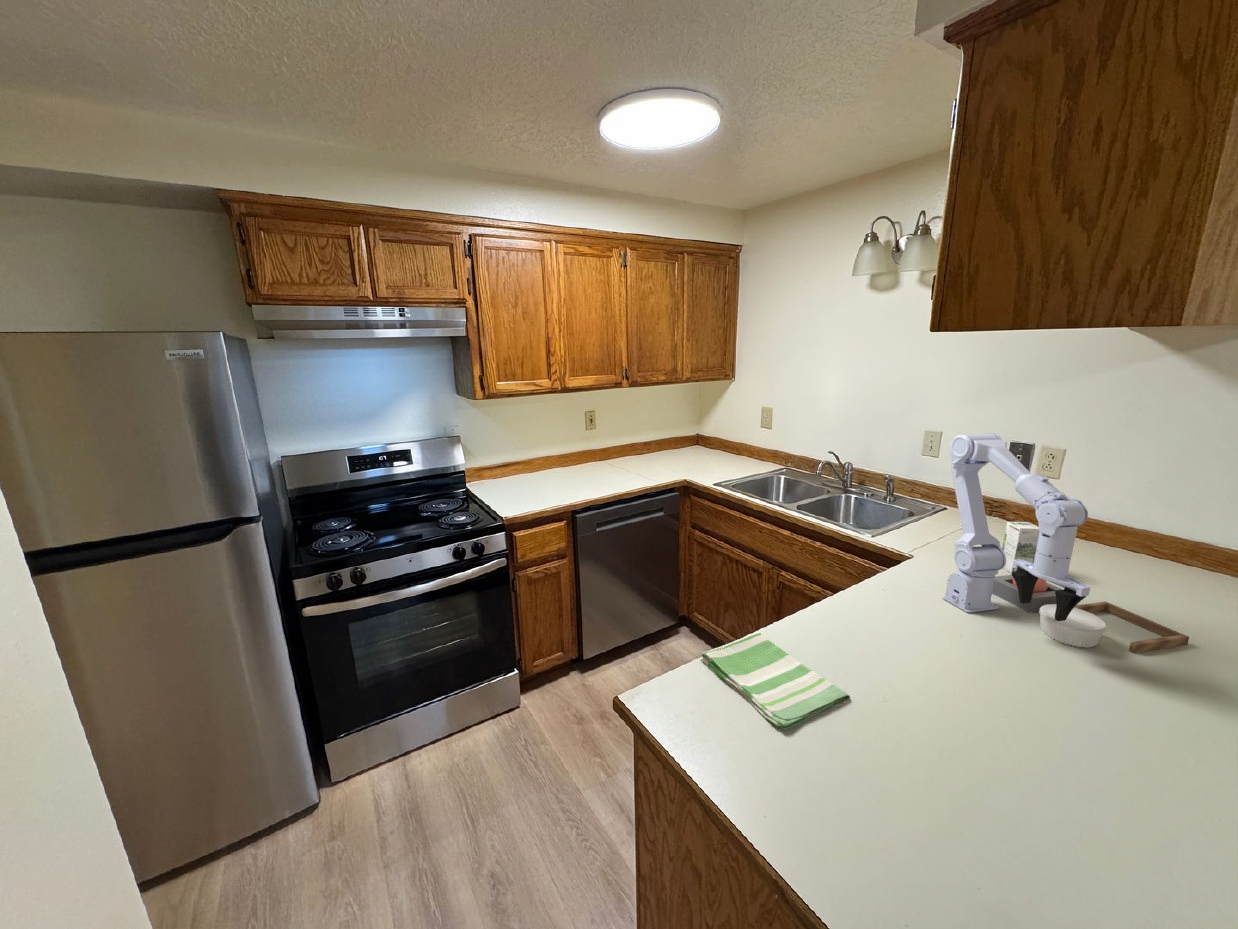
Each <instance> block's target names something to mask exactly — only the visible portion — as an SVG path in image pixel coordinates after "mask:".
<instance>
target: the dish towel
mask: <svg viewBox="0 0 1238 929" xmlns="http://www.w3.org/2000/svg"><path fill="white" fill-rule="evenodd" d="M723 647H724V648H723ZM721 648H722V649H721ZM719 649H720V650H719ZM716 650H717V651H716ZM714 651H715V652H714ZM701 657H702V658H701V659H700V661H701V662H702V663H704V664H705V665H707V667H708V668H709V669H711V670H712V672H714V673H715V674H716V675H717V676H718V677H720V678H721V679H722V680H724V682H725V683H726V684H728V685H729V686H731V688H732V689H733V690H734V691H736V693H738V694H739V695H740V696H741V697H742V698H744V699H745V700H746V701H747V702H749V704H751V705H752V706H753V708H754V709H756V711H758V712H759V713H760V714H761V715H762V716H763V717H764V718H765V719H767V720H768V721H769V722H771V723H772V724H774V725H775V726H776V727H780V728H781V729H782V730H784V731H786V730H788V729H791V728H793V727H794V726H796V725H799V724H800V723H803V722H804V721H806V720H808V719H810V718H811V717H814V716H815V715H817V714H819V713H821V712H823V711H824V710H826V709H827V708H829V707H831V706H833V708H834V707H837V706H839V705H841V704H843V703H846V702H848V701H849V700H850V699H851V696H850V695H849V694H848V693H847V692H846V691H844V690H842V689H841V688H840V687H837V686H836V685H835V684H833V683H831V682H830V681H829V680H827V679H825V678H824V677H822V676H821V675H819V674H817V673H816V672H815V671H813V670H811V669H810V668H808V667H807V666H805V665H804V664H802V663H801V662H800V661H798V660H797V659H795V658H794V657H793V656H791V655H790V654H789V653H788V652H786V651H785V650H783V649H782V648H781V647H779V646H777V645H776V644H775V643H773V642H772V641H771V640H770V639H768V638H767V637H765V635H762V634H761V632H759V631H758V632H755V633H753V634H750V635H748V636H744V637H742V638H740V639H737V640H734V641H732V642H729V643H726V644H724V645H721V646H719V647H715V648H712V649H710V650H707V651H703V652H702V653H701ZM840 701H841V702H842V703H841V702H840ZM838 702H839V703H838Z"/></svg>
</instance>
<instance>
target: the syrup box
mask: <svg viewBox="0 0 1238 929" xmlns="http://www.w3.org/2000/svg"><path fill="white" fill-rule="evenodd" d="M1039 533H1040V532H1039V529H1038V526H1037V525H1036V524H1033V523H1031V522H1027V521H1006V527H1005V531H1004V538H1003V543H1002V547H1001V549H1002V550H1003V552H1004V553H1005V556H1006V565H1005V567H1004V568H1003V569H1004V570H1005V571H1007V572H1008V573H1010V574H1012V572H1013V571H1016V570H1017V569H1015V568H1013V567H1012V566H1013V560H1016V559H1022V560H1024V561H1027V562H1031V563H1034V559H1035V554H1036V548H1037V543H1038V538H1039Z"/></svg>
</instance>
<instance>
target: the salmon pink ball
mask: <svg viewBox="0 0 1238 929" xmlns="http://www.w3.org/2000/svg"><path fill="white" fill-rule="evenodd" d="M1047 583H1048V581H1046V580H1044V579H1041V578H1038V580H1037V582H1036V584H1035V587H1034V590H1033V593H1040V592H1046V591H1047V587H1048V586H1047ZM1013 585H1015V586H1017V585H1016V582H1015V580H1014V578H1013Z"/></svg>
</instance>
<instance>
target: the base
mask: <svg viewBox="0 0 1238 929" xmlns="http://www.w3.org/2000/svg"><path fill="white" fill-rule="evenodd" d="M1047 586H1048V587H1047V591H1046V592H1040V593H1033V595H1032V599H1031V601H1030V603H1025V604H1022V603H1020V599H1019V592H1018V588H1017V586H1015V585H1013V576H1012V574H1006V575H1005V574H1004V575H998V576H996V575H995V579H994V584H993V590H992V595H993V596H994V595H995V596H996V597H999V598H1000V599H1002V600H1004V601H1006V602H1008V603H1010V604H1012V605H1014V606H1016V607H1018V608H1020V609H1021V610H1024V611H1026V612H1028V613H1030V614H1035V613H1039V611H1040V608H1041V607H1042V606H1044V605H1048V604H1057V602H1056V594H1055V590H1064V588H1062V587H1060V586H1057V585H1055V584H1053V583H1050V582H1047Z"/></svg>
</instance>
